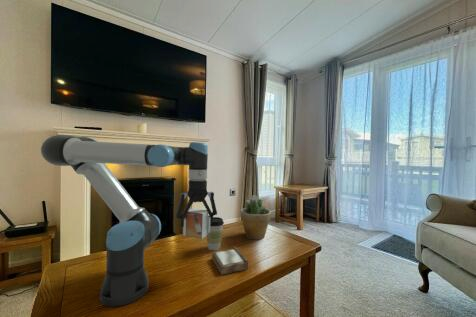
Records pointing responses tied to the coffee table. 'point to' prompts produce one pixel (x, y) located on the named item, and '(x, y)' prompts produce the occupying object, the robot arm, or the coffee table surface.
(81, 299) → the coffee table surface
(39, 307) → the coffee table surface
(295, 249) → the coffee table surface
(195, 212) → the small box
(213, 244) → the coffee cup
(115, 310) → the coffee table surface
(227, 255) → the tray
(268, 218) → the potted plant
